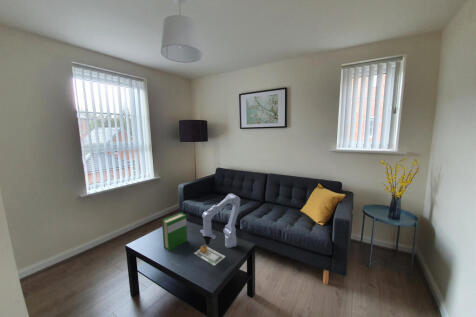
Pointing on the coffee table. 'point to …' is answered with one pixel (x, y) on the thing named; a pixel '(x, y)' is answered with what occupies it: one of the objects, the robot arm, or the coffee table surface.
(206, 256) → the white flat tray
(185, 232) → the hardback book
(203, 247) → the lever
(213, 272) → the coffee table surface
